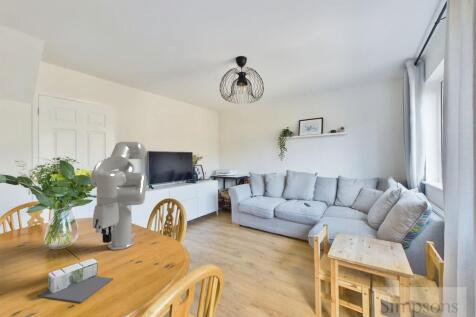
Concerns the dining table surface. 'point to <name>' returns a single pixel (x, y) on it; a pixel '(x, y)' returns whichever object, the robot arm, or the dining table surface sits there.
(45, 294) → the mat
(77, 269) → the syrup box
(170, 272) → the dining table surface
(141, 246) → the dining table surface
